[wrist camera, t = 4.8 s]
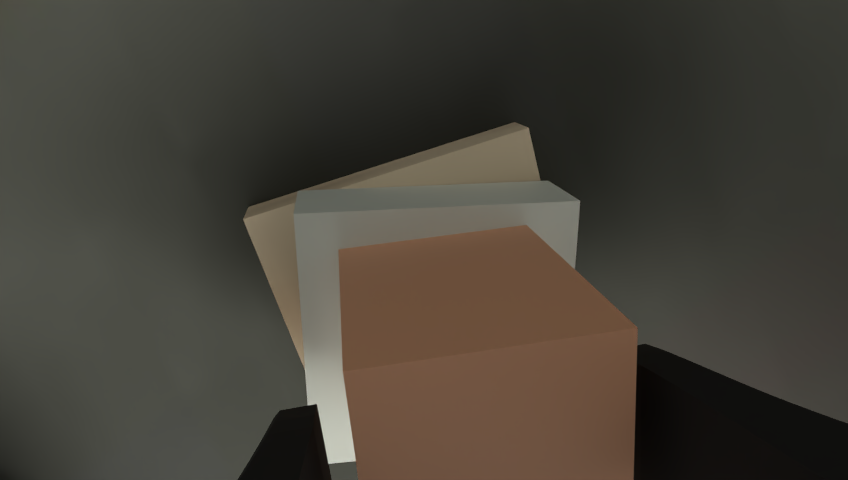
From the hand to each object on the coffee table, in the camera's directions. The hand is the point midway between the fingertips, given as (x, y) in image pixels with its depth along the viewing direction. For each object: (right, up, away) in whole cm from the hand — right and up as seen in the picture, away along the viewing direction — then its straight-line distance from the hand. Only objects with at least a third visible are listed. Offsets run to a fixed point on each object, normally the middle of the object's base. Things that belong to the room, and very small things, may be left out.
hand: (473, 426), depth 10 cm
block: (0, +1, +3) cm, 3 cm away
